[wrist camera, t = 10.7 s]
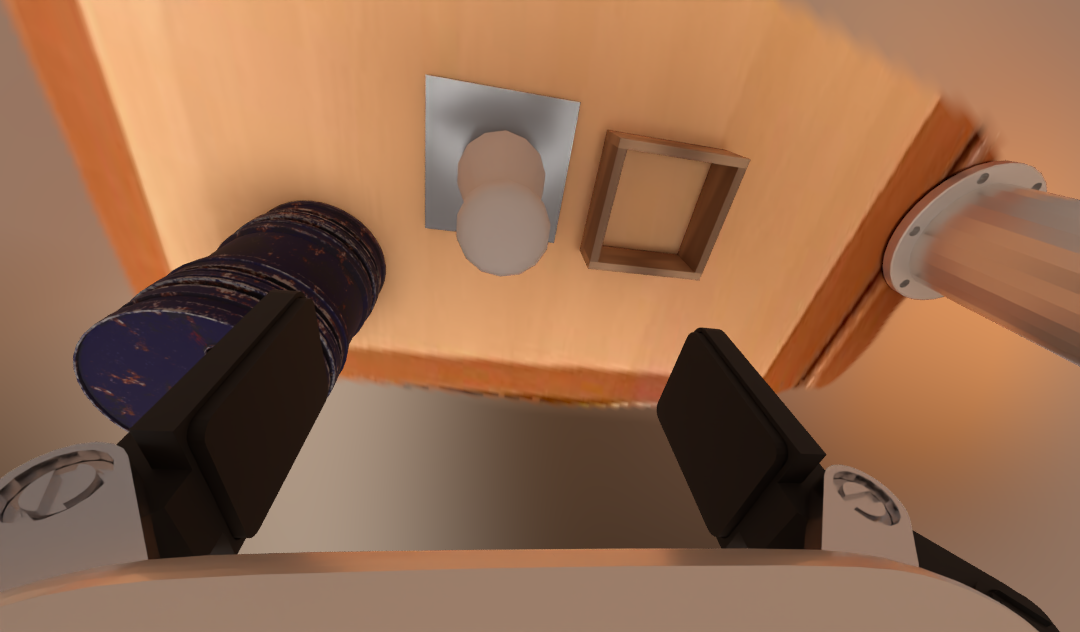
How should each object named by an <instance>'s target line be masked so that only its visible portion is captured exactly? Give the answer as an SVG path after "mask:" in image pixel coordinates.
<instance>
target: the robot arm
mask: <svg viewBox="0 0 1080 632" xmlns="http://www.w3.org/2000/svg"><path fill="white" fill-rule="evenodd" d="M883 274H884V278H885V280H886V282H887V284H888V285H889V286H890V287H891V288H892V289H893V290H895V291H896V292H898V293H900V294H901V295H903V296H905V297H908V298H911V299H917V300H929V299H936V298H940V297H947V298H949V299H951V300H953V301H954V302H957V303H958V304H961V305H962V306H964V307H966V308H968V309H970V310H972V311H974V312H976V313H978V314H979V315H981V316H983V317H985V318H987V319H989V320H991V321H993V322H995V323H997V324H999V325H1001V326H1003V327H1005V328H1006V329H1009V330H1010V331H1012V332H1014V333H1016V334H1018V335H1020V336H1022V337H1024V338H1026V339H1028V340H1030V341H1032V342H1033V343H1036V344H1037V345H1039V346H1041V347H1043V348H1045V349H1047V350H1049V351H1051V352H1053V353H1055V354H1057V355H1059V356H1061V357H1062V358H1064V359H1066V360H1068V361H1070V362H1072V363H1074V364H1076V365H1078V366H1080V200H1078V199H1073V198H1069V197H1065V196H1060V195H1056V194H1052V193H1048V192H1047V187H1046V181H1045V179H1044V177H1043V175H1042V173H1040V172H1039V171H1038V170H1037V169H1036V168H1035V167H1032V166H1029V165H1027V164H1024V163H1018V162H1012V161H992V162H988V163H984V164H980V165H977V166H974V167H972V168H969V169H967V170H965V171H962V172H960V173H958V174H957V175H955V176H953V177H951V178H949V179H948V180H946V181H944V182H943V183H942V184H940V185H939V186H937V187H936V188H935V189H933V190H932V191H930V192H929V193H928V194H927V195H926V196H925V197H924V198H922V199H921V200H920V201H919V202H918V203H917V204H916V205H915V206H914V207H913V208H912V209H911V210H910V211H909V213H908V214H907V215H906V216H905V217H904V218H903V220H902V221H901V223H900V224H899V225H898V227H897V228H896V230H895V231H894V233H893V235H892V237H891V239H890V241H889V243H888V246H887V248H886V251H885V254H884V260H883ZM328 390H329V386H328V380H327V374H326V368H325V363H324V357H323V351H322V345H321V340H320V334H319V328H318V323H317V317H316V311H315V306H314V302H313V300H312V299H307V298H306V296H305V295H304V293H303V292H299V291H288V290H277V289H274V290H271V291H270V292H269V293H268V294H267V295H266V296H265V297H263V298H262V299H261V300H260V301H259V302H258V303H257V304H256V305H255V306H254V307H253V308H252V309H251V310H250V311H249V312H248V313H247V314H246V315H245V316H244V317H243V318H242V319H241V320H240V321H239V322H238V323H237V324H236V325H235V326H234V327H233V328H232V329H231V330H230V331H229V332H228V333H227V334H226V335H225V336H224V337H223V338H222V339H221V340H220V341H219V342H218V343H217V344H216V345H215V346H214V347H213V348H212V349H211V350H210V351H209V352H207V353H206V354H205V355H204V356H203V357H202V358H201V359H200V360H199V361H198V362H197V363H196V364H195V365H194V366H193V367H192V368H191V369H190V370H189V371H188V372H187V373H186V374H185V375H184V376H183V377H182V378H181V379H180V380H179V381H178V382H177V383H176V384H175V385H174V386H173V387H172V388H171V389H170V390H169V391H168V392H167V393H166V394H165V395H164V396H163V397H162V398H161V399H160V400H159V401H158V402H157V403H156V404H155V405H154V406H153V407H151V408H150V409H149V410H148V411H147V412H146V413H145V414H144V415H143V416H142V417H141V418H140V419H139V420H138V421H137V422H136V423H135V424H134V425H133V426H132V427H131V428H130V429H129V431H130V432H129V433H128V434H127V435H126V436H125V437H124V438H123V439H122V440H121V441H120V442H119V443H118V444H117V445H115V444H113V443H105V442H90V443H81V444H75V445H71V446H68V447H64V448H60V449H57V450H54V451H51V452H49V453H46V454H44V455H41V456H39V457H36V458H34V459H31V460H30V461H28V462H26V463H24V464H22V465H21V466H19V467H17V468H15V469H14V470H12V471H10V472H8V473H7V474H6V475H4V476H3V477H2V478H0V632H1059V630H1058V629H1057V628H1056V626H1055V625H1054V624H1053V623H1052V622H1051V620H1050V619H1049V618H1048V616H1047V615H1046V614H1045V613H1044V612H1043V611H1042V610H1041V609H1040V608H1039V607H1038V606H1037V605H1035V604H1034V603H1033V602H1032V601H1030V600H1029V599H1028V598H1026V597H1025V596H1023V595H1021V594H1019V593H1018V592H1016V591H1015V590H1013V589H1012V588H1010V587H1008V586H1007V585H1005V584H1004V583H1002V582H1000V581H999V580H997V579H995V578H994V577H992V576H990V575H988V574H987V573H985V572H983V571H982V570H980V569H978V568H976V567H975V566H973V565H971V564H970V563H968V562H966V561H964V560H963V559H961V558H959V557H957V556H956V555H954V554H952V553H951V552H949V551H947V550H946V549H944V548H942V547H940V546H939V545H937V544H935V543H933V542H932V541H930V540H928V539H927V538H925V537H923V536H922V535H920V534H918V533H916V532H915V531H913V530H912V526H911V521H910V518H909V515H908V513H907V510H906V509H905V507H904V506H903V505H902V503H901V502H900V500H899V499H898V498H897V497H896V496H895V495H893V493H892V492H891V491H890V490H889V489H888V488H886V487H885V486H884V485H883V484H881V483H880V482H879V481H877V480H876V479H874V478H873V477H871V476H869V475H867V474H866V473H864V472H862V471H860V470H857V469H855V468H852V467H849V466H844V465H832V466H830V467H829V468H827V469H826V470H824V469H823V468H822V466H821V465H820V464H819V463H820V462H821V460H822V459H823V458H824V457H825V456H826V453H825V452H824V451H823V450H822V449H821V447H820V446H819V445H818V444H817V443H816V441H815V440H814V439H813V438H812V437H811V435H810V434H809V433H808V432H807V431H806V429H805V428H804V427H803V426H802V425H801V424H800V423H799V421H798V420H797V419H796V418H795V416H794V415H793V414H792V413H791V412H790V410H789V409H788V408H787V407H786V406H785V404H784V403H783V402H782V401H781V400H780V399H779V397H778V396H777V395H776V394H775V392H774V391H773V390H772V389H771V388H770V386H769V385H768V384H767V383H766V382H765V380H764V379H763V378H762V377H761V376H760V375H759V373H758V372H757V371H756V370H755V369H754V367H753V366H752V365H751V364H750V363H749V361H748V360H747V359H746V358H745V357H744V355H743V354H742V353H741V352H740V351H739V349H738V348H737V347H736V346H735V345H734V343H733V342H732V341H731V340H730V339H729V337H728V336H727V335H726V334H725V333H724V332H723V331H722V330H720V329H711V328H697V329H696V330H695V331H694V332H692V333H690V334H689V335H688V337H687V339H686V341H685V343H684V346H683V348H682V350H681V352H680V355H679V357H678V359H677V361H676V364H675V366H674V368H673V370H672V373H671V375H670V377H669V379H668V382H667V384H666V386H665V388H664V390H663V393H662V395H661V397H660V399H659V402H658V404H657V415H658V418H659V421H660V423H661V425H662V428H663V430H664V432H665V434H666V436H667V439H668V441H669V443H670V445H671V448H672V450H673V452H674V454H675V456H676V459H677V461H678V463H679V466H680V467H681V470H682V472H683V474H684V477H685V479H686V481H687V483H688V486H689V488H690V490H691V492H692V494H693V497H694V499H695V501H696V503H697V506H698V508H699V510H700V513H701V515H702V517H703V519H704V522H705V524H706V526H707V528H708V530H709V532H710V533H711V534H712V535H713V536H716V537H717V540H718V542H719V544H720V546H721V549H547V550H546V549H544V550H543V549H541V550H539V549H536V550H535V549H532V550H442V551H441V550H435V551H360V552H303V553H269V554H238V552H239V550H240V548H241V546H242V545H243V543H244V541H245V539H246V538H252V537H253V536H254V535H255V534H256V533H257V532H258V530H259V529H260V527H261V525H262V523H263V521H264V519H265V517H266V515H267V513H268V511H269V509H270V508H271V506H272V504H273V502H274V500H275V498H276V496H277V494H278V492H279V490H280V488H281V486H282V484H283V482H284V481H285V479H286V477H287V475H288V473H289V471H290V469H291V467H292V465H293V463H294V461H295V459H296V457H297V455H298V454H299V452H300V449H301V448H302V446H303V444H304V442H305V440H306V438H307V436H308V434H309V432H310V430H311V429H312V427H313V425H314V423H315V420H316V419H317V417H318V415H319V413H320V411H321V409H322V407H323V405H324V403H325V402H326V399H327V396H328ZM747 548H748V549H747Z"/></svg>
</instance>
